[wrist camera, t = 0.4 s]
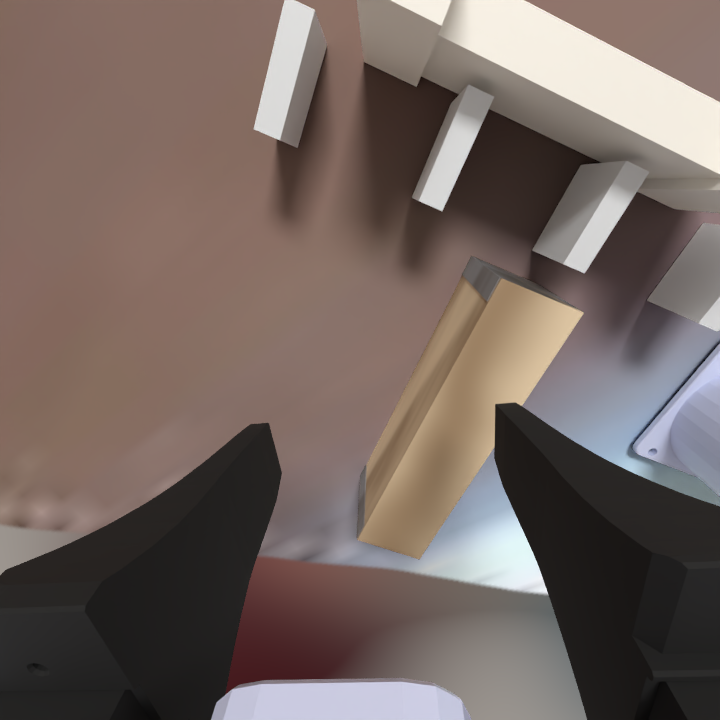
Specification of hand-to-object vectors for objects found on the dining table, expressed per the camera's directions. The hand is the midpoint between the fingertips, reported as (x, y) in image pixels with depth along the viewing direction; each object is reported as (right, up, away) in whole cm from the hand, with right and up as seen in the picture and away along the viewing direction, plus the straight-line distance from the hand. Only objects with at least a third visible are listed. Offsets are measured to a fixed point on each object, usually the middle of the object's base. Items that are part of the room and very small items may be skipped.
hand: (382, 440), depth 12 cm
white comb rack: (+6, +11, +5) cm, 14 cm away
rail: (+4, +1, +10) cm, 11 cm away
